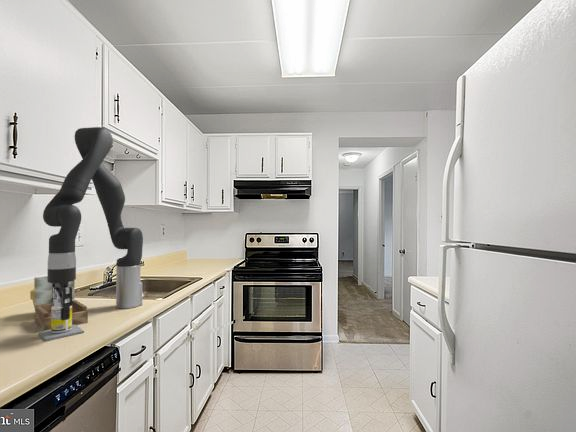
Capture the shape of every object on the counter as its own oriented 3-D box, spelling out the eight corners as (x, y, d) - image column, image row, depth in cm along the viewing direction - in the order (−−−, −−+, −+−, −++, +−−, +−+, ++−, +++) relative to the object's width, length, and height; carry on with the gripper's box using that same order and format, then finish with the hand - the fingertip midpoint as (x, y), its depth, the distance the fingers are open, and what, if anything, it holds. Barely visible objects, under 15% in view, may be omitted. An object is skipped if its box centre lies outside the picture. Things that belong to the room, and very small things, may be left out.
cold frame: (73, 313, 127) (73, 273, 127) (87, 322, 115) (88, 278, 115) (34, 320, 118) (34, 277, 118) (44, 331, 106) (45, 283, 106)
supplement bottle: (66, 327, 108) (67, 296, 108) (75, 330, 105) (75, 298, 105) (47, 332, 103) (47, 299, 103) (55, 335, 100) (56, 301, 101)
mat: (75, 326, 111) (75, 324, 111) (83, 332, 104) (83, 330, 104) (38, 333, 104) (38, 331, 104) (45, 341, 97) (45, 339, 97)
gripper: (82, 267, 102) (81, 319, 102) (69, 263, 112) (69, 310, 112) (53, 270, 97) (52, 324, 96) (42, 265, 106) (42, 315, 106)
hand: (61, 317), depth 104 cm, fingers open, 8 cm apart
